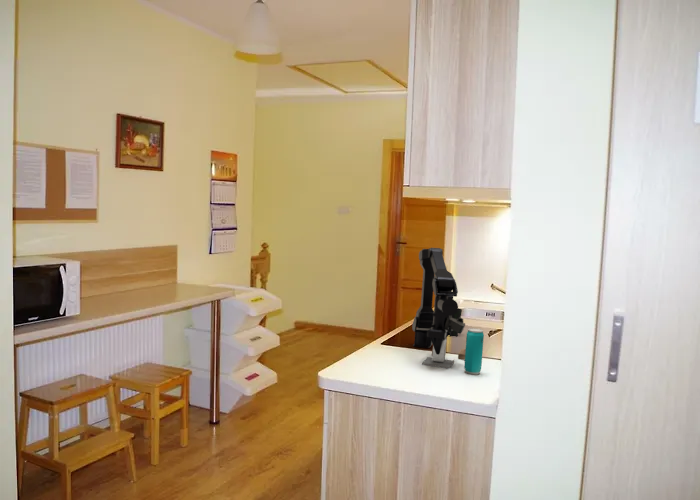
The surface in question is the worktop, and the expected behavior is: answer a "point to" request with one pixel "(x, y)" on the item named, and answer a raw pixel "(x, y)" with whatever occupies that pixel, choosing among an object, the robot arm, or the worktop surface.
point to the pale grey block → (442, 353)
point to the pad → (438, 363)
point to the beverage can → (474, 351)
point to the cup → (456, 316)
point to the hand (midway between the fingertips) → (438, 353)
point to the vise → (460, 355)
